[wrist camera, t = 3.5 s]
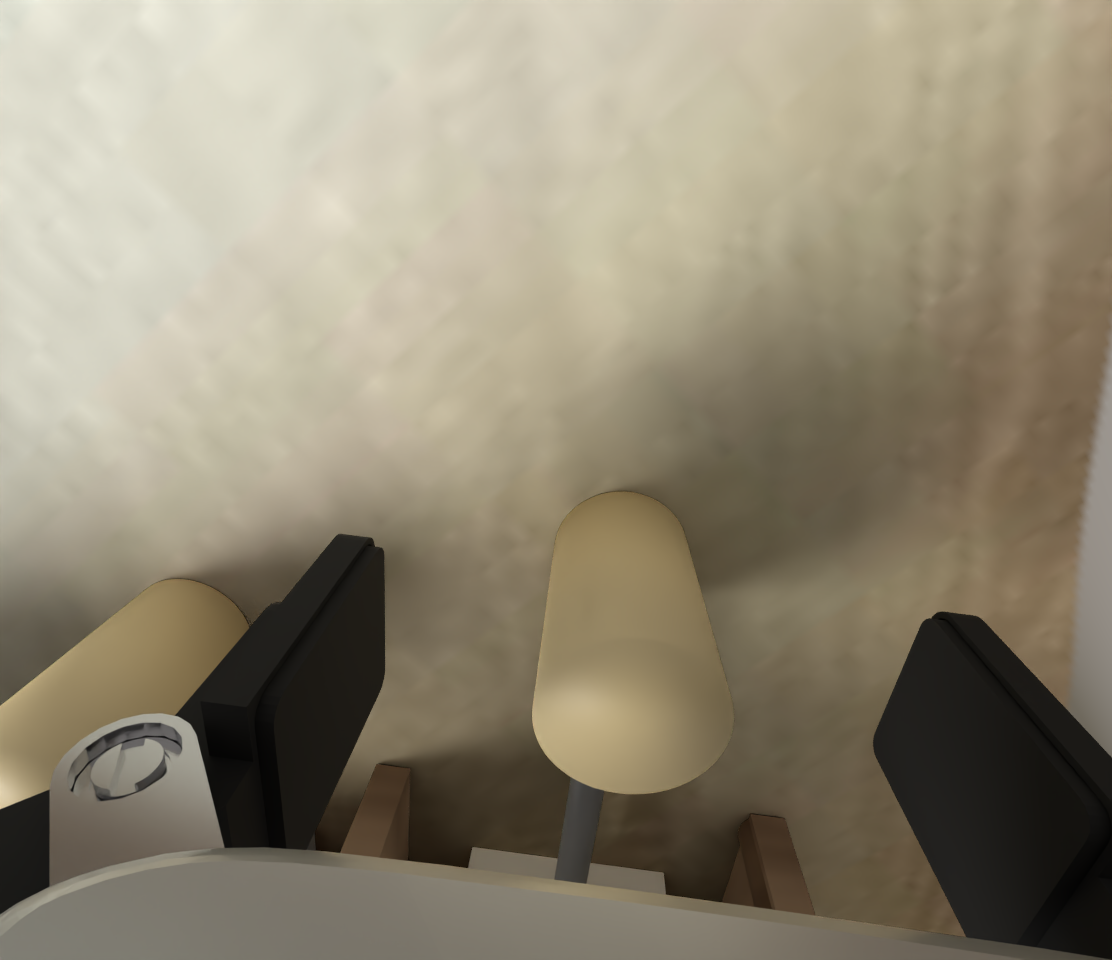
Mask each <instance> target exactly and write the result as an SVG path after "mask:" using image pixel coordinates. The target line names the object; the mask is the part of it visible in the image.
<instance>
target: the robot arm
mask: <svg viewBox="0 0 1112 960" xmlns="http://www.w3.org/2000/svg"><path fill="white" fill-rule="evenodd" d="M384 674H385V588H384V551H383V549H382V548H380V547H375V545H374V541H373V539H372V538H368V537H360V536H352V535H344V534H338V535H337V536H336V537H335V538H334V539H333V540H332V542H331V543H330V544H329V545H328V546H327V548H326V549H325V550H324V551H323V552H322V554H321V555H320V556H319V557H318V559H317V560H316V561H315V562H314V563H313V565H312V566H311V567H310V568H309V569H308V571H307V572H306V573H305V574H304V576H303V577H302V578H301V579H300V580H299V582H298V583H297V584H296V585H295V586H294V588H293V589H292V590H291V591H290V593H289V594H288V595H287V596H286V597H285V599H284V600H283V601H282V602H281V603H279V602H276V603H273V604H271V605H270V606H268V607H267V608H266V609H265V610H264V611H263V612H262V614H261V615H260V616H259V617H258V618H257V620H256V621H255V622H254V623H253V624H252V625H251V627H250V628H249V629H248V630H247V631H246V632H245V634H244V635H243V636H242V637H241V638H240V640H239V641H238V642H237V643H236V644H235V645H234V647H233V648H232V649H231V650H230V651H229V652H228V654H227V655H226V656H225V657H224V658H223V660H222V661H221V662H220V663H219V664H218V665H217V667H216V668H215V669H214V670H213V671H212V672H211V674H210V675H209V676H208V677H207V678H206V679H205V681H204V682H203V683H202V684H201V685H200V687H199V688H198V689H197V690H196V691H195V692H194V694H193V695H192V696H191V697H190V698H189V699H188V701H187V702H186V703H185V704H184V705H183V707H182V708H181V709H180V710H179V711H178V712H177V714H176V715H175V716H173V715H168V714H163V713H158V714H141V715H137V716H133V717H128V718H124V719H121V720H118V721H116V722H113V723H111V724H108V725H106V726H104V727H101V728H99V729H98V730H96V731H94V732H93V733H91V734H90V735H88V736H86V737H85V738H83V739H81V740H80V741H79V742H78V743H77V744H76V745H75V746H74V747H72V748H71V749H70V750H69V751H68V752H67V753H66V754H65V755H64V756H63V758H62V759H61V760H60V762H59V763H58V765H57V766H56V768H55V769H54V771H53V775H52V779H51V783H50V789H49V790H47V791H44V792H42V793H39V794H37V795H34V796H32V797H29V798H27V799H24V800H22V801H19V802H17V803H14V804H12V805H9V806H7V807H4V808H2V809H0V960H1112V758H1111V756H1110V755H1109V754H1108V753H1107V752H1106V751H1105V750H1104V749H1103V748H1102V747H1101V746H1100V745H1099V744H1098V743H1097V741H1096V740H1095V739H1094V738H1093V737H1092V736H1091V735H1090V734H1089V733H1088V732H1087V731H1086V730H1085V729H1084V728H1083V727H1082V725H1081V724H1080V723H1079V722H1078V721H1077V720H1076V719H1075V718H1074V717H1073V716H1072V715H1071V714H1070V713H1069V712H1068V710H1067V709H1066V708H1065V707H1064V706H1063V705H1062V704H1061V703H1060V702H1059V701H1058V700H1057V699H1056V698H1055V697H1054V696H1053V694H1052V693H1051V692H1050V691H1049V690H1048V689H1047V688H1046V687H1045V686H1044V685H1043V684H1042V683H1041V682H1040V681H1039V680H1038V678H1037V677H1036V676H1035V675H1034V674H1033V673H1032V672H1031V671H1030V670H1029V669H1028V668H1027V667H1026V666H1025V665H1024V664H1023V662H1022V661H1021V660H1020V659H1019V658H1018V657H1017V656H1016V655H1015V654H1014V653H1013V652H1012V651H1011V650H1010V649H1009V648H1008V646H1007V645H1006V644H1005V643H1004V642H1003V641H1002V640H1001V639H1000V638H999V637H998V636H997V635H996V634H995V633H994V632H993V630H992V629H991V628H990V627H989V626H988V625H987V624H986V623H985V622H984V621H983V620H982V619H980V618H979V617H977V616H973V615H965V614H957V613H949V612H938V613H936V614H935V615H934V616H933V617H932V619H930V618H929V619H926V620H925V621H923V623H922V624H921V626H920V628H919V631H918V633H917V636H916V638H915V640H914V643H913V645H912V647H911V650H910V652H909V654H908V657H907V659H906V661H905V664H904V666H903V668H902V671H901V673H900V675H899V678H898V680H897V682H896V685H895V687H894V689H893V692H892V694H891V697H890V699H889V701H888V704H887V706H886V708H885V711H884V713H883V715H882V718H881V720H880V722H879V725H878V727H877V729H876V732H875V735H874V740H873V747H874V753H875V756H876V758H877V760H878V762H879V764H880V766H881V768H882V770H883V772H884V774H885V776H886V778H887V780H888V782H889V784H890V786H891V788H892V790H893V792H894V794H895V796H896V798H897V800H898V802H899V804H900V806H901V808H902V810H903V812H904V814H905V816H906V818H907V820H908V822H909V824H910V826H911V828H912V830H913V832H914V834H915V836H916V838H917V840H918V842H919V844H920V846H921V848H922V850H923V852H924V854H925V855H926V857H927V859H928V861H929V863H930V865H931V867H932V869H933V871H934V873H935V875H936V877H937V879H938V881H939V883H940V885H941V887H942V889H943V891H944V893H945V895H946V897H947V899H948V901H949V903H950V905H951V907H952V909H953V911H954V913H955V915H956V917H957V919H958V921H959V923H960V925H961V927H962V929H963V931H964V933H965V935H966V937H961V936H954V935H947V934H940V933H933V932H926V931H919V930H912V929H905V928H899V927H892V926H885V925H878V924H871V923H864V922H857V921H850V920H843V919H836V918H829V917H822V916H815V915H808V914H800V913H793V912H786V911H779V910H772V909H765V908H758V907H750V906H743V905H736V904H729V903H722V902H714V901H707V900H700V899H693V898H686V897H678V896H671V895H664V894H657V893H649V892H642V891H635V890H628V889H620V888H613V887H605V886H598V885H590V884H583V883H575V882H568V881H560V880H553V879H545V878H538V877H530V876H523V875H515V874H508V873H500V872H493V871H485V870H478V869H470V868H463V867H455V866H448V865H439V864H431V863H422V862H413V861H405V860H396V859H387V858H379V857H370V856H361V855H353V854H344V853H335V852H327V851H312V850H307V848H308V846H309V843H310V841H311V839H312V837H313V835H314V833H315V830H316V828H317V826H318V824H319V822H320V820H321V817H322V815H323V813H324V811H325V809H326V807H327V805H328V802H329V800H330V798H331V796H332V794H333V792H334V789H335V787H336V785H337V783H338V781H339V779H340V777H341V774H342V772H343V770H344V768H345V766H346V764H347V761H348V759H349V757H350V755H351V753H352V751H353V749H354V746H355V744H356V742H357V740H358V738H359V736H360V733H361V731H362V729H363V727H364V725H365V723H366V721H367V718H368V716H369V714H370V712H371V710H372V708H373V705H374V703H375V701H376V699H377V697H378V695H379V693H380V690H381V688H382V684H383V680H384Z"/></svg>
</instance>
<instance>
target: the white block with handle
mask: <svg viewBox="0 0 1112 960" xmlns="http://www.w3.org/2000/svg"><path fill="white" fill-rule="evenodd" d="M532 722H533V729H534V732H535V735H536V738H537V740H538V742H539V744H540V747H541V748H542V750H543V751H544V753H545V754H546V756H547V757H548V758H549V759H550V760H551V761H552V762H553V764H555V765H556V766H557V767H558V768H559V769H560V770H561V771H563V772H564V773H566V774H567V775H569V776H570V777H571V779H570V785H569V792H568V798H567V804H566V810H565V817H564V823H563V829H562V835H561V841H560V848H559V854H558V858H551V857H543V856H536V855H528V854H521V853H513V852H506V851H499V850H491V849H484V848H476V847H472V851H471V856H470V861H469V866H468V868H470V869H478V870H485V871H493V872H500V873H508V874H515V875H523V876H530V877H538V878H545V879H553V880H560V881H568V882H575V883H583V884H590V885H598V886H605V887H613V888H620V889H628V890H635V891H642V892H649V893H657V894H664V895H666V891H665V881H664V873H662V872H654V871H647V870H640V869H632V868H625V867H617V866H610V865H602V864H595V863H591V857H592V852H593V847H594V842H595V836H596V831H597V826H598V821H599V816H600V810H601V805H602V800H603V795H604V791H608V792H614V793H621V794H648V793H656V792H661V791H665V790H669V789H672V788H675V787H678V786H681V785H683V784H685V783H688V782H690V781H691V780H693V779H695V778H697V777H698V776H700V775H701V774H703V773H704V772H705V771H707V770H708V769H709V768H710V767H711V766H712V765H713V764H714V763H715V762H716V761H717V760H718V759H719V758H720V756H721V755H722V754H723V752H724V751H725V749H726V747H727V745H728V744H729V741H730V738H731V736H732V732H733V727H734V707H733V702H732V698H731V695H730V691H729V688H728V684H727V681H726V677H725V674H724V670H723V666H722V663H721V659H720V656H719V652H718V649H717V645H716V642H715V638H714V635H713V631H712V628H711V624H710V621H709V617H708V614H707V610H706V607H705V603H704V600H703V596H702V593H701V589H700V586H699V582H698V579H697V575H696V572H695V568H694V565H693V561H692V558H691V554H690V550H689V547H688V543H687V540H686V537H685V533H684V530H683V528H682V526H681V524H680V522H679V521H678V519H677V518H676V516H675V515H674V514H673V513H672V512H671V511H670V510H669V509H668V508H667V507H665V506H664V505H663V504H661V503H660V502H658V501H657V500H655V499H653V498H650V497H648V496H645V495H642V494H639V493H633V492H623V491H619V492H609V493H603V494H600V495H597V496H594V497H592V498H589V499H587V500H585V501H584V502H582V503H581V504H579V505H578V506H577V507H575V508H574V509H573V510H572V511H571V512H570V513H569V514H568V515H567V516H566V518H565V519H564V520H563V522H562V524H561V526H560V527H559V530H558V532H557V535H556V539H555V545H554V552H553V559H552V567H551V574H550V582H549V589H548V596H547V604H546V611H545V618H544V626H543V633H542V641H541V648H540V655H539V663H538V670H537V678H536V685H535V692H534V700H533V707H532Z"/></svg>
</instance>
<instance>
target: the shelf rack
mask: <svg viewBox="0 0 1112 960" xmlns="http://www.w3.org/2000/svg"><path fill="white" fill-rule="evenodd" d="M409 804H410V769H409V768H402V767H394V766H387V765H379V764H377V765H376V767H375V769H374V772H373V774H372V777H371V779H370V782H369V784H368V786H367V789H366V791H365V794H364V796H363V798H362V801H361V803H360V806H359V808H358V811H357V813H356V815H355V818H354V820H353V823H352V825H351V828H350V830H349V832H348V835H347V837H346V840H345V842H344V844H343V847H342V849H341V852H340V853H344V854H353V855H361V856H370V857H379V858H387V859H396V860H405V861H408V847H409ZM738 839H739V843H740V847H739V851H738V854H737V857H736V860H735V863H734V866H733V869H732V872H731V875H730V878H729V881H728V885H727V888H726V891H725V894H724V897H723V900H722V903H729V904H736V905H743V906H750V907H758V908H765V909H772V910H779V911H786V912H793V913H800V914H808V915H815V912H814V909H813V906H812V903H811V900H810V897H809V893H808V890H807V887H806V884H805V881H804V878H803V874H802V871H801V868H800V865H799V862H798V859H797V856H796V852H795V849H794V846H793V843H792V840H791V837H790V834H789V830H788V827H787V824H786V821H785V818H777V817H770V816H762V815H755V814H750V817H749V819H748V820H746V821H745V822H743V823H742V824H741V825H740V827H739V829H738ZM815 916H816V915H815Z"/></svg>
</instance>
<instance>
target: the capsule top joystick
mask: <svg viewBox="0 0 1112 960" xmlns="http://www.w3.org/2000/svg"><path fill="white" fill-rule="evenodd" d="M248 629H249V625H248V623H247V621H246V619H245V617H244V616H243V614H242V613H241V611H240V610H239V609H238V607H237V606H236V605H235V604H234V603H233V602H232V601H231V600H230V599H228V598H227V597H226V596H225V595H223V594H222V593H220V592H219V591H217V590H215V589H213V588H212V587H210V586H207V585H205V584H202V583H199V582H196V581H192V580H186V579H169V580H163V581H160V582H157V583H155V584H153V585H151V586H150V587H148V588H147V589H146V590H144V591H143V592H142V593H141V594H139V595H138V596H137V597H136V598H134V599H133V600H132V601H131V602H129V603H128V604H127V605H126V606H124V607H123V608H122V609H121V610H119V611H118V612H117V613H116V614H114V615H113V616H112V617H111V618H109V619H108V620H107V621H106V622H104V623H103V624H102V625H101V626H99V627H98V628H97V629H96V630H94V631H93V632H92V633H91V634H89V635H88V636H87V637H86V638H84V639H83V640H82V641H81V642H79V643H78V644H77V645H76V646H74V647H73V648H72V649H71V650H69V651H68V652H67V653H66V654H64V655H63V656H62V657H61V658H59V659H58V660H57V661H56V662H54V663H53V664H52V665H51V666H49V667H48V668H47V669H46V670H44V671H43V672H42V673H41V674H39V675H38V676H37V677H36V678H34V679H33V680H32V681H31V682H29V683H28V684H27V685H26V686H24V687H23V688H22V689H21V690H20V691H18V692H17V693H16V694H15V695H13V696H12V697H11V698H10V699H8V700H7V701H6V702H5V703H3V704H2V705H1V706H0V809H2V808H4V807H7V806H9V805H12V804H14V803H17V802H19V801H22V800H24V799H27V798H29V797H32V796H34V795H37V794H39V793H42V792H44V791H47V790H49V789H50V783H51V779H52V775H53V771H54V769H55V768H56V766H57V765H58V763H59V762H60V760H61V759H62V758H63V756H64V755H65V754H66V753H67V752H68V751H69V750H70V749H71V748H72V747H74V746H75V745H76V744H77V743H78V742H79V741H80V740H81V739H83V738H85V737H86V736H88V735H90V734H91V733H93V732H94V731H96V730H98V729H99V728H101V727H104V726H106V725H108V724H111V723H113V722H116V721H118V720H121V719H124V718H128V717H133V716H137V715H141V714H158V713H163V714H168V715H173V716H175V715H176V714H177V712H178V711H179V710H180V709H181V708H182V707H183V705H184V704H185V703H186V702H187V701H188V699H189V698H190V697H191V696H192V695H193V694H194V692H195V691H196V690H197V689H198V688H199V687H200V685H201V684H202V683H203V682H204V681H205V679H206V678H207V677H208V676H209V675H210V674H211V672H212V671H213V670H214V669H215V668H216V667H217V665H218V664H219V663H220V662H221V661H222V660H223V658H224V657H225V656H226V655H227V654H228V652H229V651H230V650H231V649H232V648H233V647H234V645H235V644H236V643H237V642H238V641H239V640H240V638H241V637H242V636H243V635H244V634H245V632H246V631H247V630H248ZM307 850H312V851H316V845H315V833H314V835H313V837H312V839H311V841H310V843H309V846H308V848H307Z"/></svg>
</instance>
